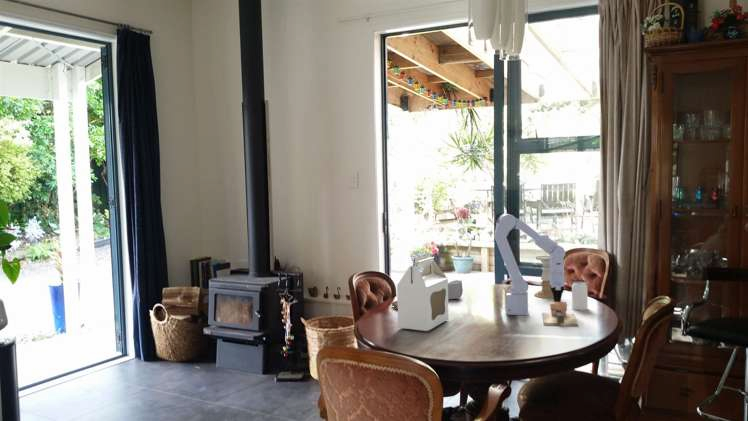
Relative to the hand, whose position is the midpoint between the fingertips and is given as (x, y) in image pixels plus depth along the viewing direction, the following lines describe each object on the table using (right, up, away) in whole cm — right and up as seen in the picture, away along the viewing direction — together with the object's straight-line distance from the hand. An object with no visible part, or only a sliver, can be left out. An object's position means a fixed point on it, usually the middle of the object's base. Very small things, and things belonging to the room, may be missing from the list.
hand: (557, 303), depth 243 cm
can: (+12, -4, +6) cm, 14 cm away
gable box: (-59, -6, -13) cm, 61 cm away
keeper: (-2, -3, -8) cm, 8 cm away
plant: (-61, -5, +20) cm, 64 cm away
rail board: (-4, -5, -13) cm, 15 cm away
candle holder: (+6, -3, +35) cm, 35 cm away
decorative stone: (-39, -4, +35) cm, 52 cm away
